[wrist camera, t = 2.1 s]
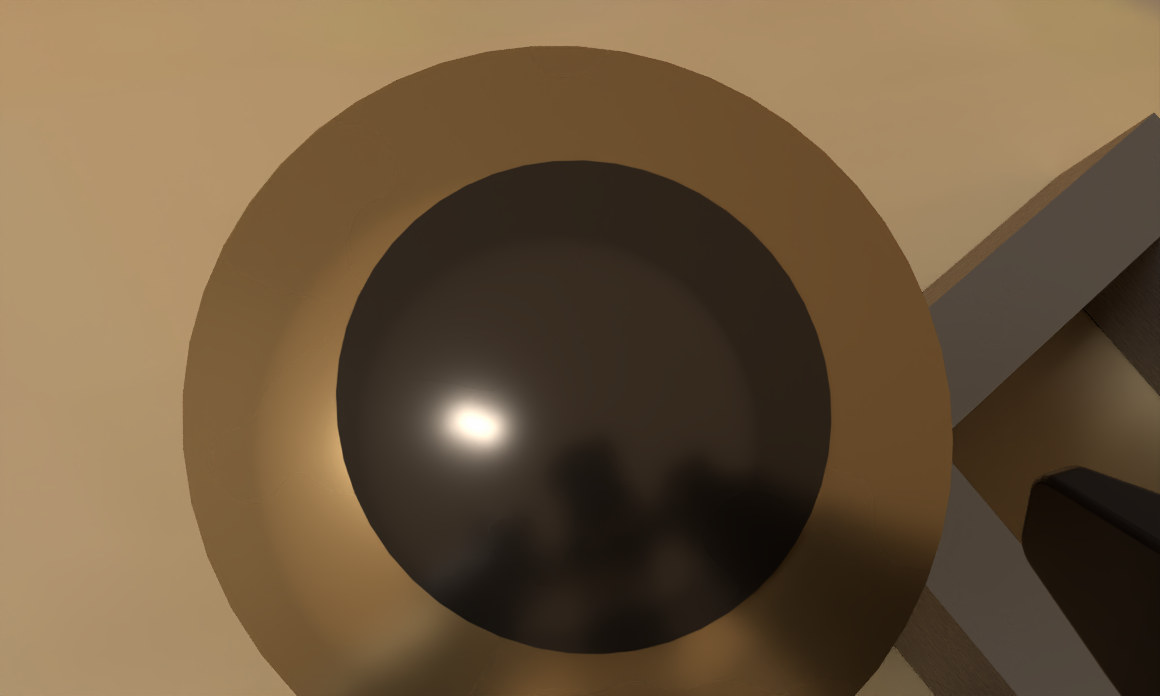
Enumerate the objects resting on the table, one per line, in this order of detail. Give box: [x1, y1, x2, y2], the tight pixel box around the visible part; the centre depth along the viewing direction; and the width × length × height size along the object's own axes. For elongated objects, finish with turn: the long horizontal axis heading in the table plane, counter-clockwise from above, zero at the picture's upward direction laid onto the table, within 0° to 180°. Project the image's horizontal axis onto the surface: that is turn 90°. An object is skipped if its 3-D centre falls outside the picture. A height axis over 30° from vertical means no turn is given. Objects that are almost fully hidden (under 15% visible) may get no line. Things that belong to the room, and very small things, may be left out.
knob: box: [183, 46, 953, 696], centre depth 12 cm, size 5×5×13 cm
